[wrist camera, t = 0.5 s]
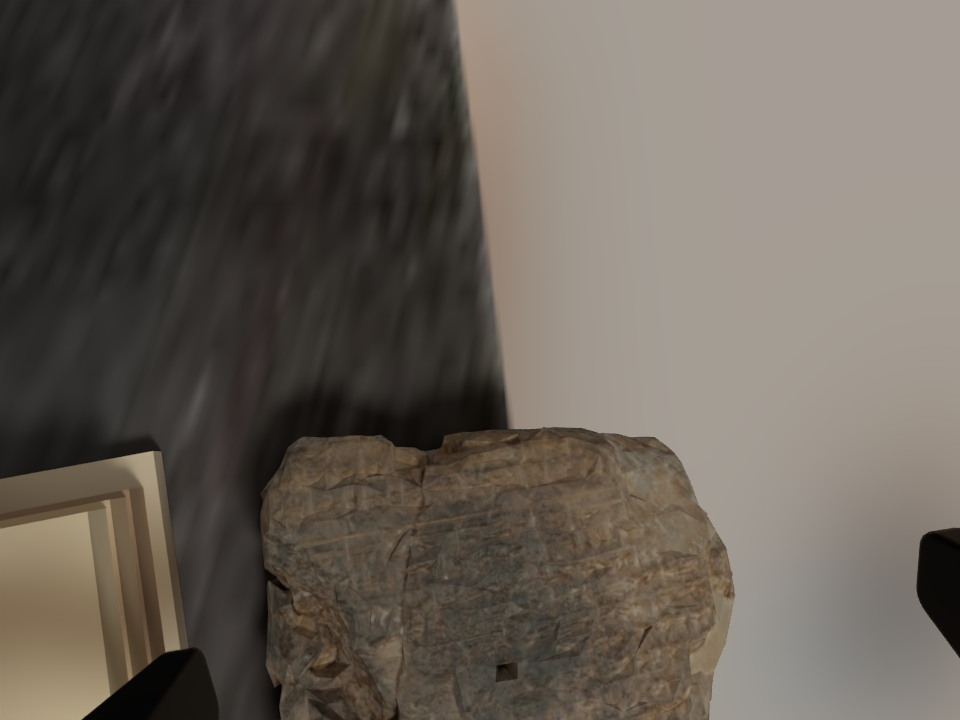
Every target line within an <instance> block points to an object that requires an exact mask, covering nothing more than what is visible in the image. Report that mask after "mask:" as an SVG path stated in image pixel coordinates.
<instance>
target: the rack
mask: <svg viewBox="0 0 960 720" xmlns="http://www.w3.org/2000/svg"><path fill="white" fill-rule="evenodd" d="M142 487H143V489H144V496H145V504H146V511H147V519H148V526H149V533H150V541H151V548H152V556H153V563H154V570H155V578H156V585H157V593H158V600H159V608H160V615H161V622H162V630H163V637H164V645H165V652H168V651H174V650H180V649H187V648H188V641H187V634H186V626H185V619H184V612H183V605H182V598H181V590H180V583H179V576H178V569H177V562H176V554H175V547H174V540H173V533H172V526H171V518H170V511H169V504H168V497H167V490H166V482H165V475H164V468H163V461H162V454H161V451H151V452H145V453H140V454H134V455H129V456H123V457H118V458H113V459H107V460H102V461H96V462H91V463H85V464H80V465H75V466H69V467H64V468H58V469H53V470H47V471H42V472H36V473H31V474H26V475H20V476H15V477H9V478H4V479H0V514H2V513H8V512H13V511H18V510H23V509H28V508H34V507H39V506H44V505H49V504H54V503H59V502H65V501H70V500H75V499H80V498H85V497H90V496H96V495H101V494H106V493H111V492H116V491H122V490H127V489H134V488H142Z"/></svg>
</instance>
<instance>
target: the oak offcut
mask: <svg viewBox="0 0 960 720" xmlns="http://www.w3.org/2000/svg"><path fill="white" fill-rule="evenodd" d="M104 508H107V516H108V524H109V531H110V539H111V547H112V555H113V563H114V570H115V578H116V586H117V594H118V602H119V609H120V617H121V625H122V633H123V641H124V648H125V656H126V664H127V672H128V680H130V679H132V678H133V677H134V676H135V675H136V674H138V673H139V672H140V671H141V670H143V669H144V668H145V667H146V666H147V665H148V659H147V652H146V644H145V637H144V629H143V621H142V614H141V606H140V599H139V591H138V583H137V576H136V568H135V561H134V553H133V545H132V538H131V530H130V523H129V515H128V507H127V500H126V497H123V498H116V499H110V500H105V501H100V502H95V503H89V504H84V505H79V506H74V507H69V508H64V509H59V510H54V511H48V512H43V513H38V514H33V515H28V516H23V517H18V518H13V519H7V520H2V521H0V529H2V528H7V527H12V526H17V525H22V524H27V523H32V522H37V521H43V520H48V519H53V518H58V517H63V516H68V515H73V514H78V513H83V512H88V511H94V510H99V509H104Z"/></svg>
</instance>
